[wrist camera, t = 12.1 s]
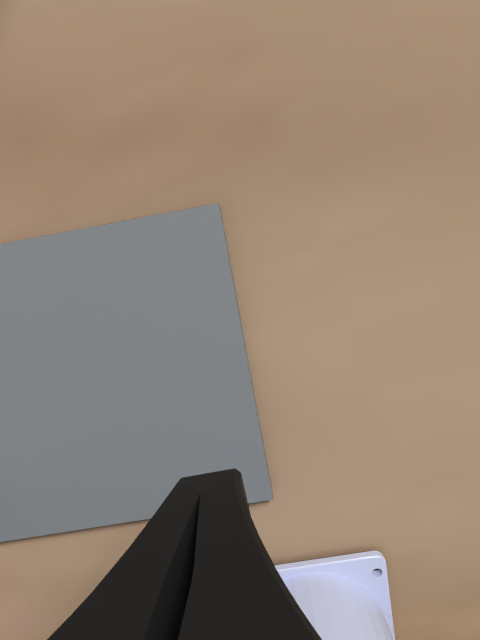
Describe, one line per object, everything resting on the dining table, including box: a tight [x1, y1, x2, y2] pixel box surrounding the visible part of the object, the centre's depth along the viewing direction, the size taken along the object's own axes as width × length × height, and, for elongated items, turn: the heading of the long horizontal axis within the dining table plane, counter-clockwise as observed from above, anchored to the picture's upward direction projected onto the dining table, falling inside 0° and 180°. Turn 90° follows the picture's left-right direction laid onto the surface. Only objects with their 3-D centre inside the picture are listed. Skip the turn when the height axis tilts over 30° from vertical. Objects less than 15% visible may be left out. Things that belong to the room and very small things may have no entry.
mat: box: [0, 203, 273, 542], centre depth 19 cm, size 14×20×1 cm
